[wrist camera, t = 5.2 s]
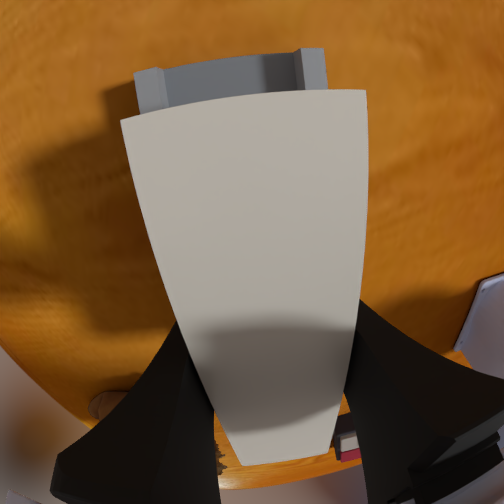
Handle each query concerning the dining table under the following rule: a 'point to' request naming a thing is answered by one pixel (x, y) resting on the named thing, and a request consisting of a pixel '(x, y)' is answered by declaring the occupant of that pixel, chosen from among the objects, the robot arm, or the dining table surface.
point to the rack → (230, 78)
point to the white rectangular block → (261, 253)
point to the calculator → (345, 439)
